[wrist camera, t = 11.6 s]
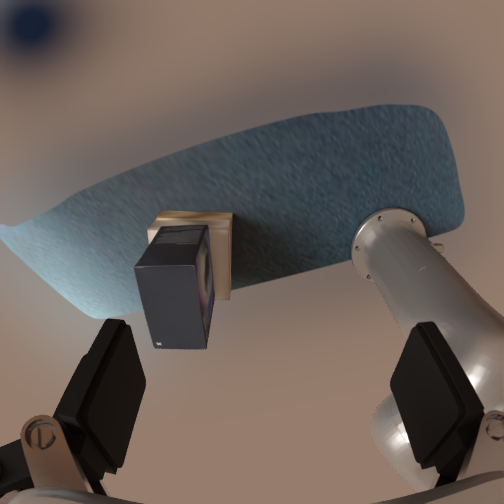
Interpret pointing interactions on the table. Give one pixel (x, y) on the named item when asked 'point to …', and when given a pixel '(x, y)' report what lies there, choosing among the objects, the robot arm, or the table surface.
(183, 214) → the oak slab
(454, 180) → the table surface
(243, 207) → the table surface
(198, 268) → the small box
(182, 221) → the ash slab
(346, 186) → the table surface
